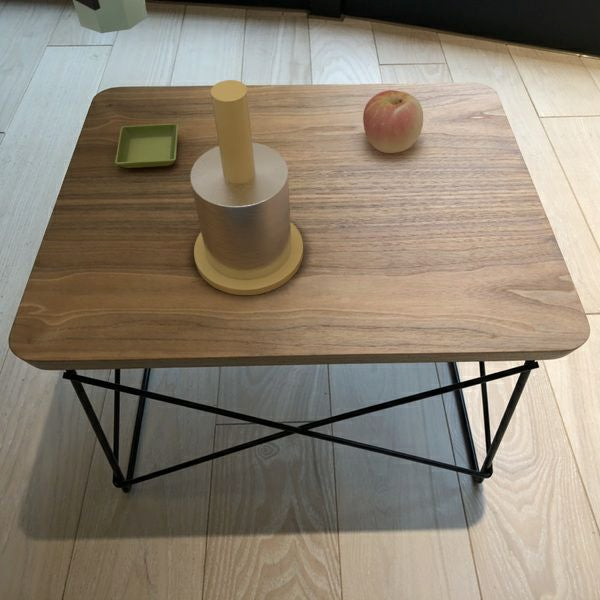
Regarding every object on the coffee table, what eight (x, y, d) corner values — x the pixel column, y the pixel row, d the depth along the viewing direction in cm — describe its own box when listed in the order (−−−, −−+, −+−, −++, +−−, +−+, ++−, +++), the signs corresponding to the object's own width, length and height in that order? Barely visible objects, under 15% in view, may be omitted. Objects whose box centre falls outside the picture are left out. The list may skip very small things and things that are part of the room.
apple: (363, 163, 90) (367, 117, 83) (359, 126, 95) (362, 80, 89) (422, 162, 90) (431, 116, 83) (415, 124, 95) (422, 78, 89)
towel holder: (173, 267, 78) (127, 106, 59) (235, 201, 85) (213, 38, 66) (264, 312, 74) (247, 153, 55) (323, 238, 81) (325, 75, 62)
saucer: (180, 133, 95) (178, 122, 93) (178, 171, 89) (175, 159, 88) (124, 137, 94) (120, 126, 93) (118, 174, 89) (114, 163, 87)
